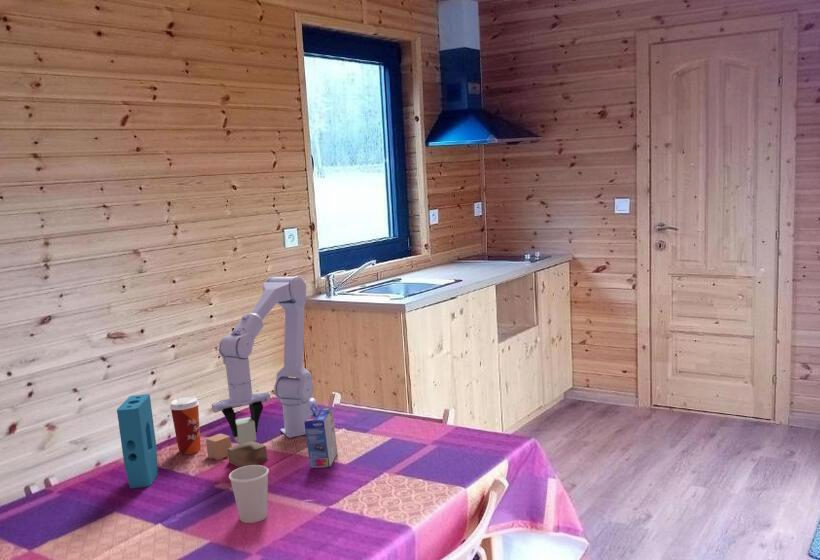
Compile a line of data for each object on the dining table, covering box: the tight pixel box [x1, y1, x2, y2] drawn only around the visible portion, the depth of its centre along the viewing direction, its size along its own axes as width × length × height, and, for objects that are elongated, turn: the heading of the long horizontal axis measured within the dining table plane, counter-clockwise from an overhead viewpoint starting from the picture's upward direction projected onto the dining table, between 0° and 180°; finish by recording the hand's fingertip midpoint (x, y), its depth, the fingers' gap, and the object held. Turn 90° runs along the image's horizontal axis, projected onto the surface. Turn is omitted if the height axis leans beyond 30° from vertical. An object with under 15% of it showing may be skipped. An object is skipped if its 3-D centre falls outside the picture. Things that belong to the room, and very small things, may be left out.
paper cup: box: [169, 396, 201, 455], centre depth 207 cm, size 8×8×14 cm
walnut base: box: [227, 441, 268, 468], centre depth 196 cm, size 7×7×4 cm
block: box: [116, 393, 159, 489], centre depth 188 cm, size 12×5×20 cm, turn 4°
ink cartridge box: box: [304, 403, 338, 469], centre depth 192 cm, size 10×6×14 cm, turn 174°
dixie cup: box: [228, 464, 270, 524], centre depth 163 cm, size 8×8×10 cm
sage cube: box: [233, 416, 257, 445], centre depth 196 cm, size 4×4×5 cm
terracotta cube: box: [205, 433, 232, 461], centre depth 202 cm, size 4×4×5 cm
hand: (245, 433), depth 196 cm, fingers closed on sage cube, 4 cm apart
